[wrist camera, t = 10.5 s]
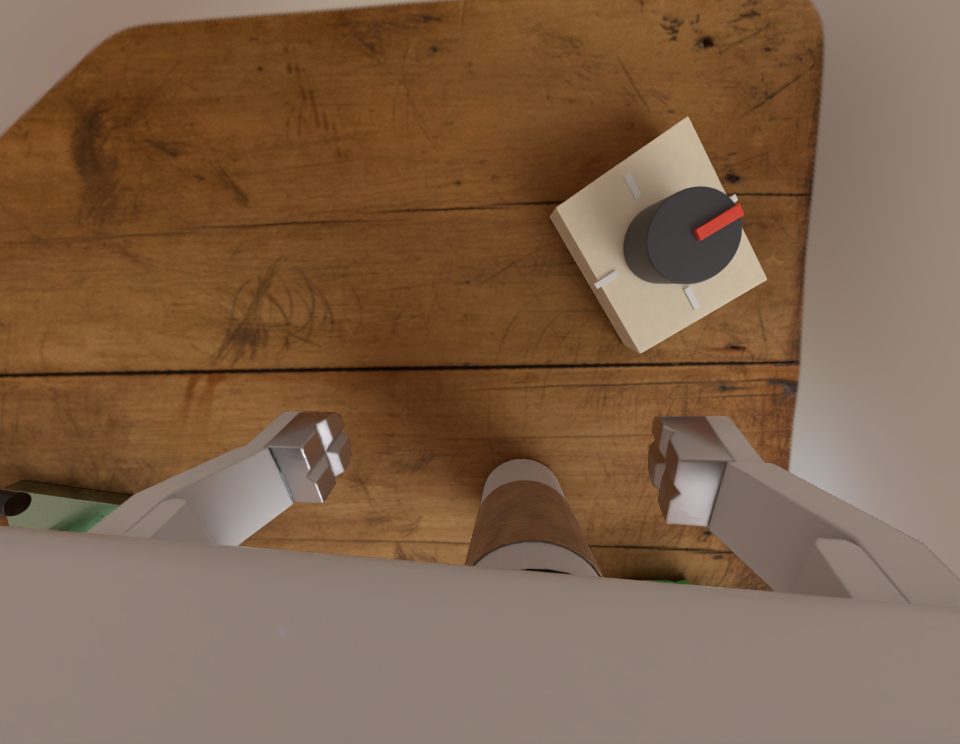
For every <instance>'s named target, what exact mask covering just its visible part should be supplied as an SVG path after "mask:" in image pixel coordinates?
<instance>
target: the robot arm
mask: <svg viewBox="0 0 960 744" xmlns="http://www.w3.org/2000/svg"><path fill="white" fill-rule="evenodd" d="M343 427H344V422H343V420H342V417H341V415H340V414H338V413H336V412H311V411H304V412H303V411H287V412H283V413H282V414H280V415H279V416H278V417H277V418H276V419H275V420H274V421H273V422H272V423H271V424H269V425H268V426H267V427H266V428H265V429H264V430H263V431H262V432H261V433H260V434H258V435H257V436H256V437H255V438H254V439H253V440H252V441H251V442H250V443H249V444H247V445H246V446H245V447H238V448H236V449H234V450H231V451H229V452H227V453H225V454H222V455H220V456H218V457H216V458H214V459H211V460H209V461H207V462H205V463H203V464H200V465H198V466H196V467H194V468H191V469H189V470H187V471H185V472H183V473H180V474H178V475H176V476H174V477H172V478H169V479H167V480H165V481H163V482H160V483H158V484H156V485H154V486H152V487H149V488H147V489H145V490H143V491H141V492H138V493H136V494H134V495H133V496H132V497H130V498H129V499H128V500H126V501H125V502H124V503H123V504H121V505H120V506H119V507H118V508H116V509H115V510H114V511H113V512H111V513H110V514H109V515H107V516H106V517H105V518H104V519H102V520H101V521H100V522H99V523H97V524H96V525H95V526H93V527H92V528H91V529H90V530H88V531H87V532H86V533H81V532H70V531H58V530H46V529H35V528H23V527H11V526H0V744H960V579H959V578H958V577H957V576H956V575H955V574H954V573H953V572H952V571H951V570H950V569H949V568H948V567H947V566H946V565H945V564H944V563H943V562H942V561H941V560H940V559H939V558H938V557H937V556H936V555H935V554H934V553H933V552H932V551H931V550H929V548H928V547H927V546H926V545H924V544H923V543H922V542H920V541H918V540H916V539H915V538H913V537H911V536H909V535H907V534H905V533H903V532H901V531H899V530H897V529H896V528H894V527H892V526H890V525H888V524H886V523H884V522H882V521H881V520H879V519H877V518H875V517H873V516H871V515H869V514H867V513H865V512H864V511H862V510H860V509H858V508H856V507H854V506H852V505H850V504H848V503H847V502H845V501H843V500H841V499H839V498H837V497H835V496H833V495H832V494H830V493H828V492H826V491H824V490H822V489H820V488H818V487H816V486H814V485H813V484H810V483H809V482H807V481H805V480H803V479H801V478H799V477H798V476H796V475H794V474H792V473H790V472H788V471H786V470H784V469H782V468H781V467H779V466H777V465H775V464H773V463H764V462H763V460H762V459H761V458H760V456H759V455H758V454H757V452H756V451H755V450H754V449H753V447H752V446H751V445H750V443H749V442H748V441H747V440H746V438H745V437H744V436H743V434H742V433H741V432H740V430H739V429H738V428H737V427H736V425H735V424H734V423H733V421H732V420H731V419H730V418H729V417H727V416H701V417H655V418H654V421H653V425H652V430H651V431H652V434H653V436H654V439H655V441H654V442H653V443H652V444H651V445H649V451H648V470H649V475H650V479H651V482H652V485H653V486H655V487H656V488H657V489H658V490H659V495H658V502H659V505H660V508H661V510H662V513H663V516H664V519H665V522H666V523H669V524H681V525H693V526H705V527H708V529H709V530H710V531H711V532H712V533H713V534H714V535H715V536H717V537H718V538H719V539H720V540H721V541H722V542H723V543H724V544H725V545H726V546H727V547H728V548H729V549H730V550H731V551H733V552H734V553H735V554H736V555H737V556H738V557H739V558H740V559H741V560H742V561H743V562H744V563H745V564H746V565H748V566H749V567H750V568H751V569H752V570H753V571H754V572H755V573H756V574H757V575H758V576H759V577H760V578H761V579H763V580H764V581H765V582H766V583H767V584H768V585H769V586H770V587H771V588H772V589H773V590H774V591H775V592H770V591H758V590H747V589H735V588H723V587H711V586H700V585H688V584H676V583H664V582H652V581H640V580H629V579H617V578H606V577H594V576H583V575H571V574H560V573H548V572H537V571H525V570H513V569H502V568H490V567H479V566H467V565H455V564H444V563H432V562H420V561H408V560H397V559H385V558H373V557H361V556H350V555H338V554H326V553H315V552H303V551H291V550H280V549H268V548H256V547H245V546H237V545H239V544H240V543H241V542H243V541H244V540H245V539H247V538H248V537H250V536H251V535H252V534H254V533H255V532H256V531H258V530H259V529H260V528H262V527H263V526H264V525H266V524H267V523H268V522H270V521H271V520H272V519H274V518H275V517H276V516H278V515H279V514H280V513H282V512H283V511H284V510H286V509H287V508H288V507H290V506H291V505H292V504H293V502H311V503H323V502H324V501H325V499H326V498H327V496H328V495H329V493H330V492H331V490H332V489H333V487H334V486H335V484H336V482H335V477H336V476H338V475H340V474H341V473H343V472H344V471H345V469H346V468H347V466H348V464H349V461H350V457H351V444H350V441H349V438H348V437H347V436H346V435H345V434H344V433H343V432H342V430H343Z"/></svg>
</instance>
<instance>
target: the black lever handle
mask: <svg viewBox="0 0 960 744" xmlns="http://www.w3.org/2000/svg"><path fill="white" fill-rule="evenodd" d="M31 501H32V498H31V496H30V494H28V493H25V492H18V491H11V490H4V489H0V515H3V516H16V515H19V514H21V513H23V512H24V511H25V510H26V509H27V508H28V507H29V506H30V504H31Z"/></svg>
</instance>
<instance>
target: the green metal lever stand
mask: <svg viewBox="0 0 960 744" xmlns="http://www.w3.org/2000/svg"><path fill="white" fill-rule="evenodd" d="M2 489H4V490H11V491H18V492H25V493H28V494H30V496H31V498H32V501H31V504H30V506H29V507H28V508H27V509H26V510H25V511H24V512H23V513H21V514H19V515H16V516H7V519H8V523H9V526H11V527H23V528H35V529H46V530H58V531H70V532H81V533H86V532H87V531H88V530H90V529H91V528H92V527H93V526H95V525H96V524H97V523H99V522H100V521H101V520H102V519H104V518H105V517H106V516H107V515H109V514H110V513H111V512H113V511H114V510H115V509H116V508H118V507H119V506H120V505H121V504H123V503H124V502H125V501H126V500H128V499H129V498H130V497H132V496H133V495H125V494H118V493H111V492H104V491H96V490H89V489H82V488H75V487H67V486H60V485H53V484H46V483H38V482H31V481H24V480H21V481H19V482H16V483H14V484H12V485H9V486H7V487H4V488H2Z"/></svg>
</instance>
